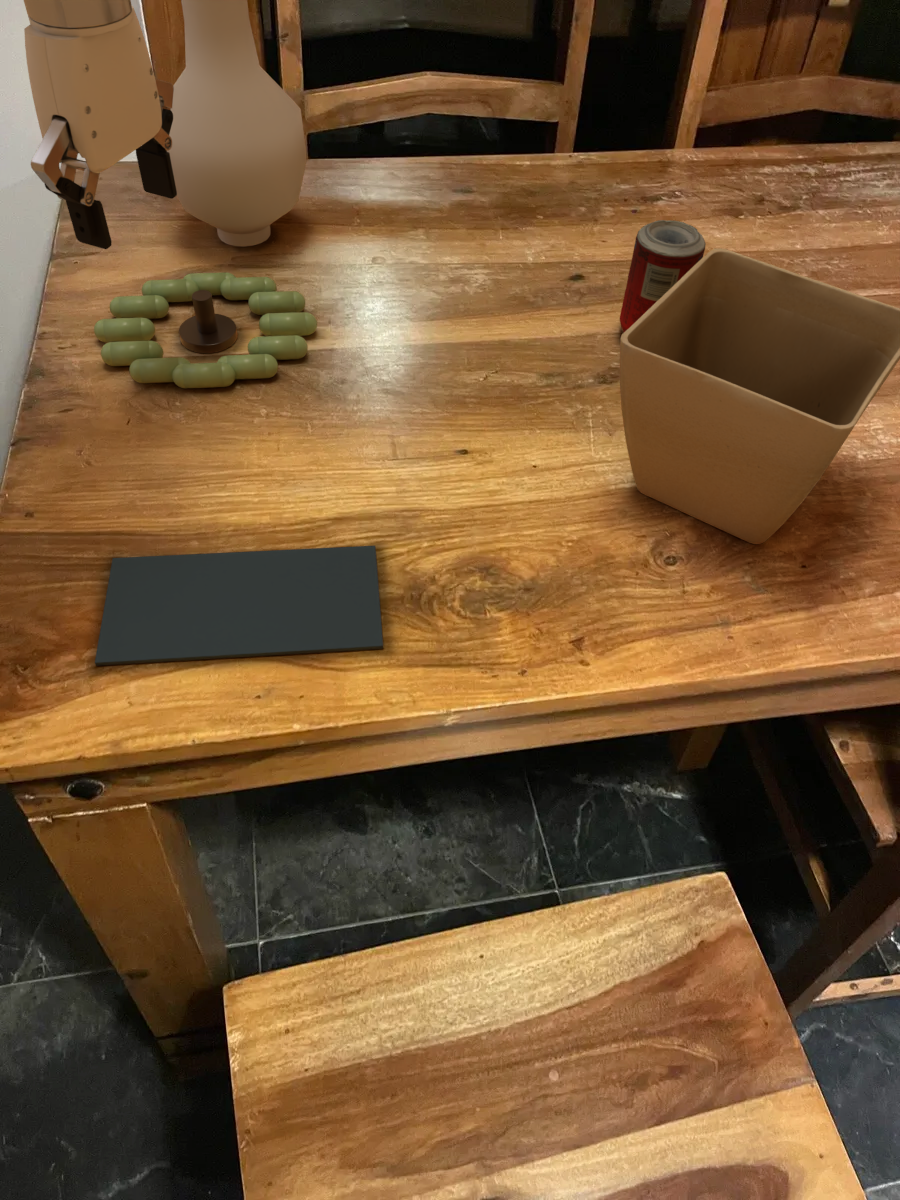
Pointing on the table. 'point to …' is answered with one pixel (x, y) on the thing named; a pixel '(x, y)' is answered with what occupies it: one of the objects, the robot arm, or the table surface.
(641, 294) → the soda can
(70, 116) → the robot arm
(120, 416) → the table surface
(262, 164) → the vase
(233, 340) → the ring stand
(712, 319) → the flower pot
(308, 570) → the mat
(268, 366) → the ring
